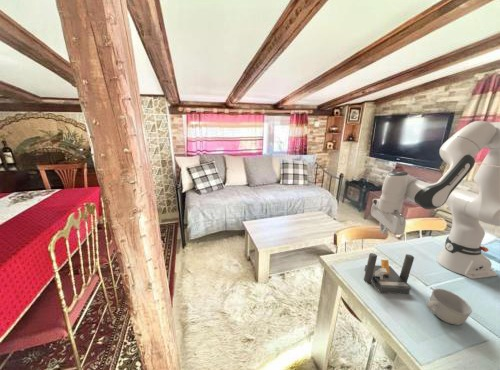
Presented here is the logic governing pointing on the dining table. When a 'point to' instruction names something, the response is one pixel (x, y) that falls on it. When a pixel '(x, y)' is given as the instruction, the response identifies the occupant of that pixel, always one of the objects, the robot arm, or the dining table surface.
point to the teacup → (449, 306)
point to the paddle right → (380, 272)
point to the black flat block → (389, 282)
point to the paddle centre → (385, 266)
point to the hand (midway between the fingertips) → (382, 232)
